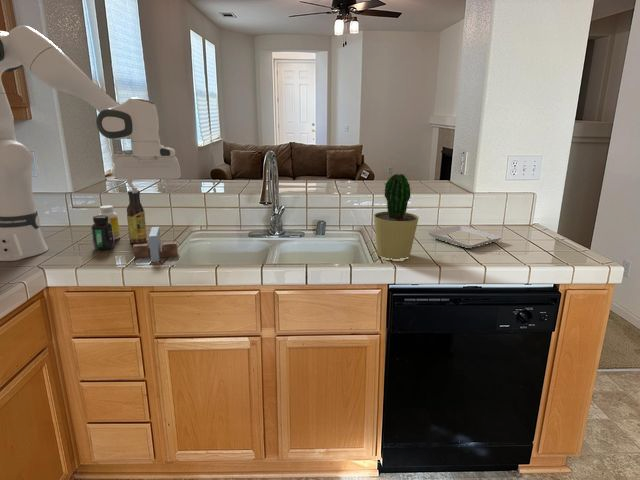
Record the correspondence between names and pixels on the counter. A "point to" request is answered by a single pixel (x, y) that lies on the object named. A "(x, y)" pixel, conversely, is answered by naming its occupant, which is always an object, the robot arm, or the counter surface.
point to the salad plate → (444, 231)
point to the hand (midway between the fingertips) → (150, 192)
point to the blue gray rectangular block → (154, 244)
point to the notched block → (167, 251)
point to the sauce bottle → (136, 218)
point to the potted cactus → (395, 221)
